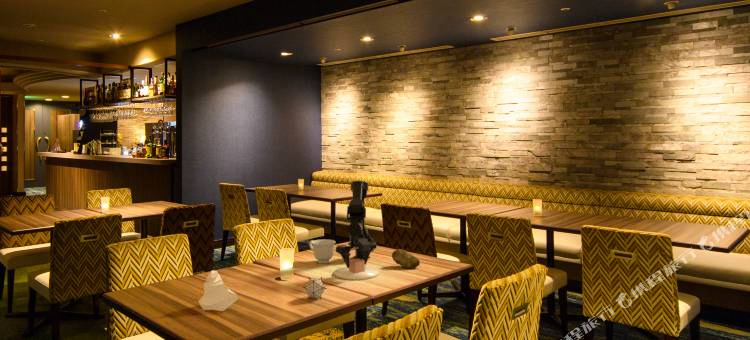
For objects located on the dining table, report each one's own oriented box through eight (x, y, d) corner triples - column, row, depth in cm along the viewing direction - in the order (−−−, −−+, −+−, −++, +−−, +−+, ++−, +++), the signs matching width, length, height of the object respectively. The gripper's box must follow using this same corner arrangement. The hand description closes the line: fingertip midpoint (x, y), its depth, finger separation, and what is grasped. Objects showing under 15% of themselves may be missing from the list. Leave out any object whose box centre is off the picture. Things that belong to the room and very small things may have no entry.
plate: (325, 273, 244) (325, 270, 244) (361, 266, 256) (361, 263, 256) (351, 282, 228) (351, 279, 228) (388, 274, 240) (388, 272, 240)
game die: (316, 309, 205) (314, 293, 199) (300, 298, 209) (297, 282, 203) (332, 293, 211) (329, 277, 204) (315, 282, 215) (313, 266, 208)
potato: (410, 270, 247) (410, 253, 246) (389, 266, 255) (389, 249, 254) (421, 267, 253) (421, 250, 252) (400, 263, 261) (400, 246, 261)
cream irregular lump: (205, 319, 189) (193, 281, 188) (201, 310, 203) (189, 274, 201) (240, 305, 194) (228, 268, 192) (233, 297, 208) (222, 262, 206)
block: (349, 271, 242) (348, 260, 242) (358, 269, 245) (358, 258, 245) (355, 273, 238) (355, 262, 238) (364, 271, 241) (364, 260, 241)
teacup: (318, 257, 275) (317, 237, 274) (340, 261, 266) (340, 241, 266) (301, 261, 265) (301, 241, 265) (324, 266, 257) (324, 245, 256)
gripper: (349, 236, 229) (349, 273, 230) (383, 231, 240) (384, 266, 241) (334, 233, 237) (335, 268, 239) (369, 228, 249) (369, 261, 250)
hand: (356, 266), depth 242 cm, fingers open, 9 cm apart
